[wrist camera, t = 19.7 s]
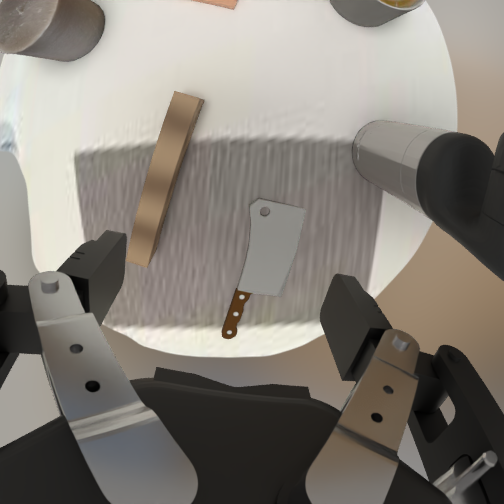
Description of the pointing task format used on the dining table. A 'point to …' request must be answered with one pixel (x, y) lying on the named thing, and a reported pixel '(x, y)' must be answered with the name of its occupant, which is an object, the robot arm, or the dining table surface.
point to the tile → (221, 3)
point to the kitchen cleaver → (266, 256)
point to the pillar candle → (50, 28)
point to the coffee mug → (373, 10)
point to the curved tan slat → (162, 176)
